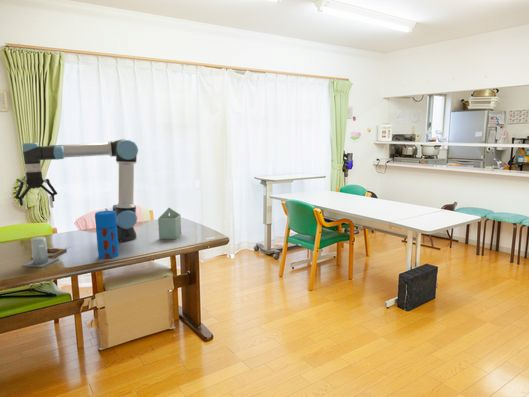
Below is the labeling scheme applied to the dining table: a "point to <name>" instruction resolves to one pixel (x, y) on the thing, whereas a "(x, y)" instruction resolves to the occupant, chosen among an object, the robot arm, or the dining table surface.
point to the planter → (169, 225)
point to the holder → (59, 251)
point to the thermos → (106, 234)
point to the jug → (39, 250)
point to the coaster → (40, 264)
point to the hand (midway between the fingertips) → (38, 209)
